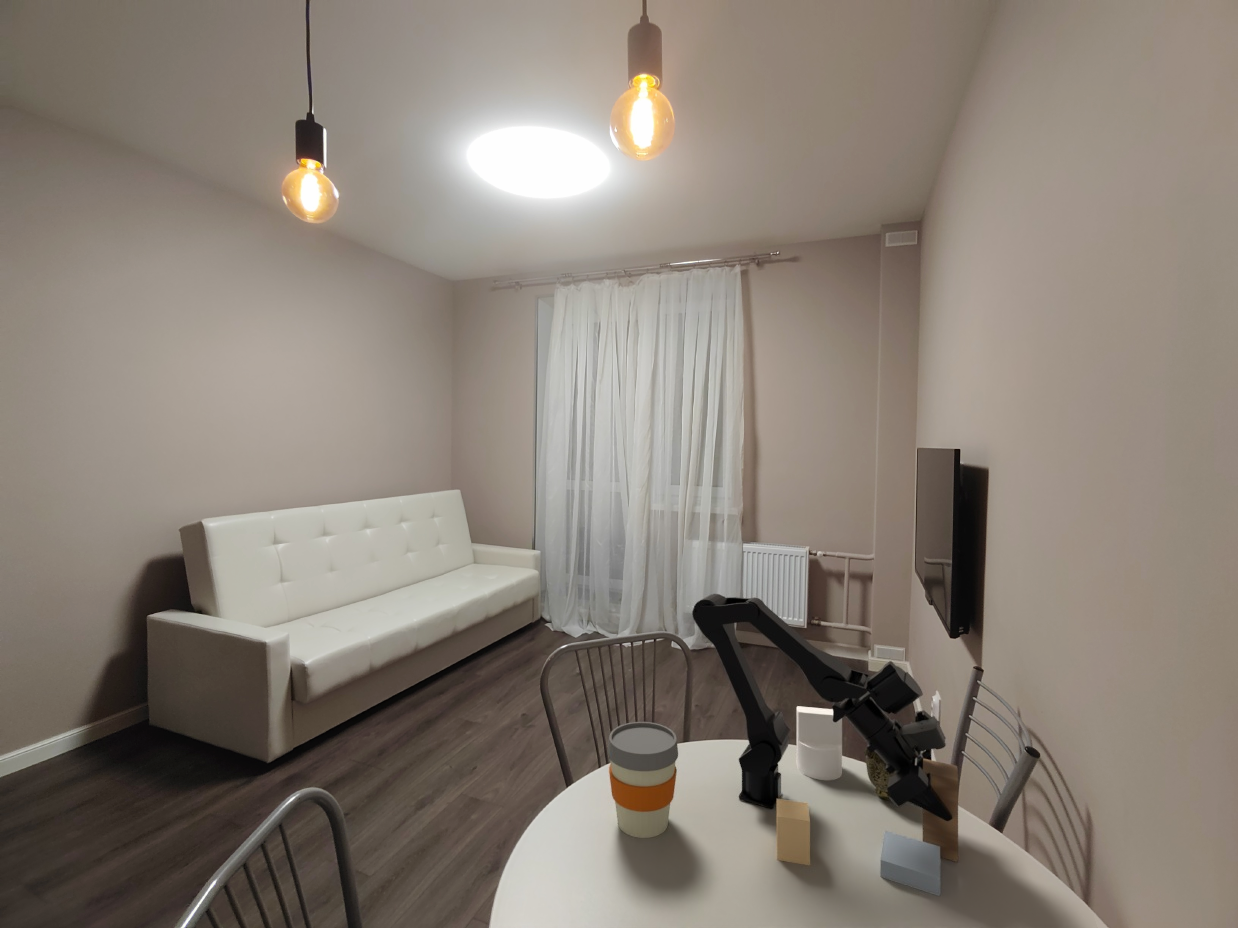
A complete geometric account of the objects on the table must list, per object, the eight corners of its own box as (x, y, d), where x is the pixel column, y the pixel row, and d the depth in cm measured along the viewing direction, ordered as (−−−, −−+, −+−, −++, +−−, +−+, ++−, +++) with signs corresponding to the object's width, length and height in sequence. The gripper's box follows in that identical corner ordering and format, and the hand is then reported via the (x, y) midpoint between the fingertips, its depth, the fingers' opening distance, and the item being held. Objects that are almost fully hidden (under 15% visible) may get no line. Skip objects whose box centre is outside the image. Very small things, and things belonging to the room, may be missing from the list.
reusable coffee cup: (593, 819, 101) (593, 735, 101) (644, 792, 110) (644, 714, 110) (641, 855, 92) (641, 762, 92) (693, 823, 100) (693, 738, 100)
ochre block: (777, 859, 91) (777, 816, 91) (776, 839, 96) (776, 798, 96) (809, 865, 90) (810, 820, 90) (807, 844, 95) (807, 802, 95)
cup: (912, 809, 104) (912, 765, 104) (869, 804, 106) (869, 761, 106) (901, 787, 111) (901, 746, 112) (861, 782, 113) (861, 742, 113)
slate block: (880, 878, 87) (880, 859, 87) (884, 848, 94) (884, 830, 94) (940, 898, 83) (940, 878, 83) (940, 865, 90) (940, 846, 90)
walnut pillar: (922, 851, 93) (922, 771, 93) (923, 834, 97) (923, 758, 97) (958, 862, 90) (958, 780, 90) (957, 844, 95) (957, 765, 95)
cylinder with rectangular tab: (798, 777, 115) (798, 718, 115) (794, 755, 124) (794, 700, 124) (845, 782, 113) (845, 722, 113) (838, 759, 122) (838, 704, 122)
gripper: (910, 723, 88) (996, 816, 82) (915, 683, 104) (987, 758, 98) (855, 761, 91) (934, 852, 86) (868, 716, 108) (935, 791, 102)
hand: (949, 810), depth 93 cm, fingers closed on walnut pillar, 5 cm apart
